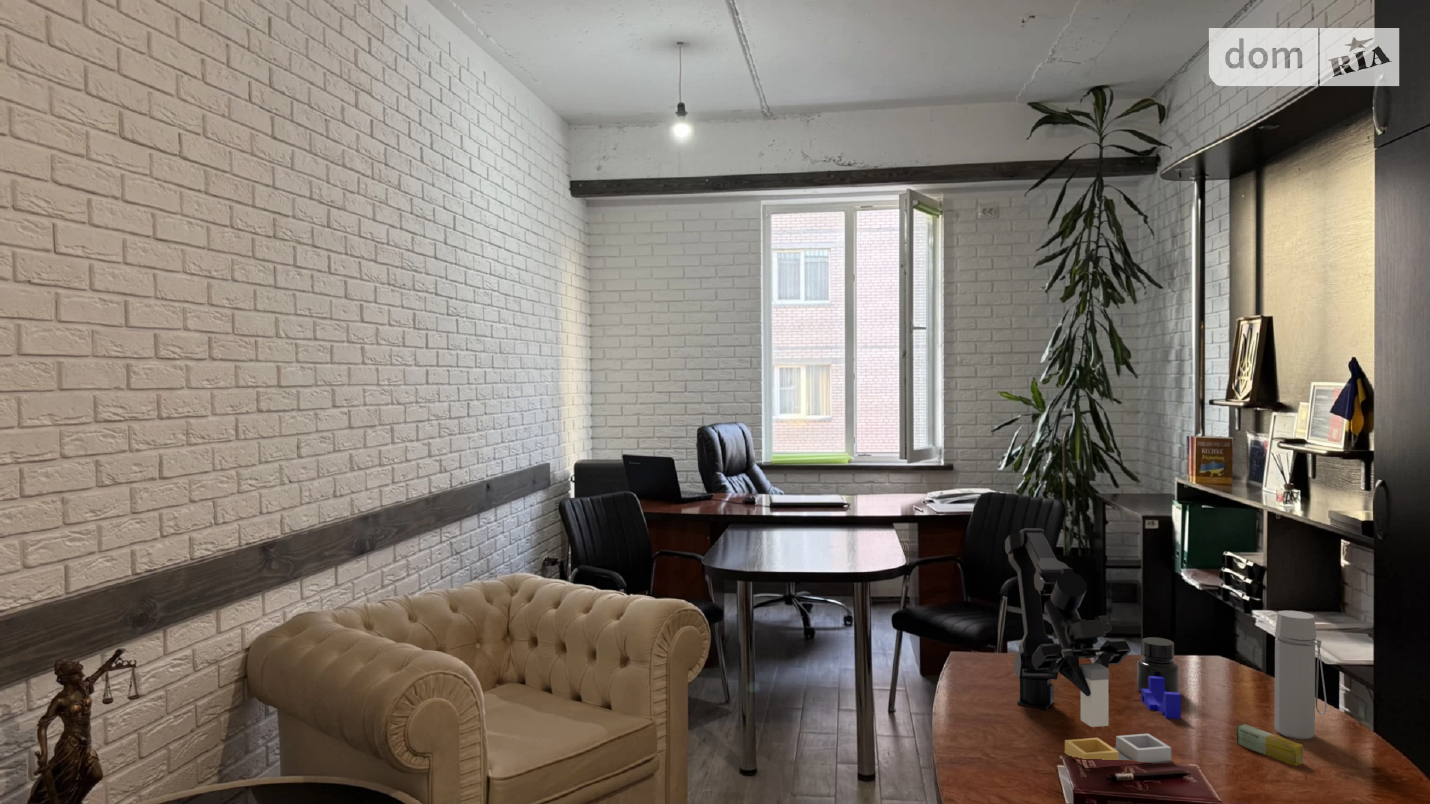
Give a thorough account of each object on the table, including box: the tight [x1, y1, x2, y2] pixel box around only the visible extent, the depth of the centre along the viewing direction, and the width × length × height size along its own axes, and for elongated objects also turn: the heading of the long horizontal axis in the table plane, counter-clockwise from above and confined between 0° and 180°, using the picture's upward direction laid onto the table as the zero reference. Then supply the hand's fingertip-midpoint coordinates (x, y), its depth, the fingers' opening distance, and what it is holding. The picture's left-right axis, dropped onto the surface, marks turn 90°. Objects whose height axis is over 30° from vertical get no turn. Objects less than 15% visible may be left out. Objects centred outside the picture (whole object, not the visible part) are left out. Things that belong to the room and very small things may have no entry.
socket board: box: [1063, 733, 1174, 764], centre depth 176 cm, size 18×8×3 cm, turn 99°
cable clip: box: [1140, 676, 1182, 720], centre depth 202 cm, size 12×4×6 cm, turn 171°
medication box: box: [1236, 723, 1304, 767], centre depth 178 cm, size 12×3×4 cm, turn 26°
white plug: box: [1079, 662, 1110, 728], centre depth 175 cm, size 4×4×11 cm
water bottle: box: [1274, 610, 1327, 740], centre depth 187 cm, size 9×8×25 cm
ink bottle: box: [1136, 636, 1180, 693], centre depth 213 cm, size 10×9×12 cm
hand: (1098, 694), depth 174 cm, fingers closed on white plug, 4 cm apart
